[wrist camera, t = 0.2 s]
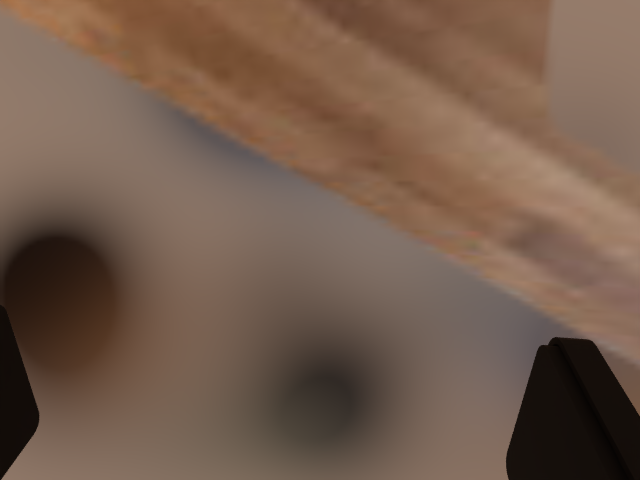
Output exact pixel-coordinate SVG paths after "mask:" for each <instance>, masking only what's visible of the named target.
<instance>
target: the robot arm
mask: <svg viewBox="0 0 640 480" xmlns="http://www.w3.org/2000/svg"><path fill="white" fill-rule="evenodd" d="M38 423H39V411H38V408H37V405H36V402H35V398H34V395H33V392H32V389H31V386H30V383H29V380H28V376H27V373H26V370H25V367H24V364H23V361H22V358H21V355H20V352H19V348H18V345H17V342H16V339H15V336H14V333H13V330H12V327H11V324H10V320H9V317H8V314H7V311H6V309H5V308H4V307H3V306H1V305H0V480H1V479H2V478H3V476H4V475H5V473H6V472H7V471H8V469H9V468H10V467H11V465H12V464H13V462H14V461H15V460H16V458H17V457H18V455H19V454H20V453H21V451H22V450H23V449H24V447H25V446H26V444H27V443H28V442H29V440H30V439H31V437H32V436H33V435H34V433H35V431H36V429H37V427H38ZM506 469H507V475H508V479H509V480H640V416H639V414H638V413H637V411H636V409H635V408H634V406H633V405H632V403H631V401H630V400H629V398H628V397H627V395H626V393H625V392H624V390H623V388H622V387H621V385H620V384H619V382H618V380H617V379H616V377H615V375H614V374H613V372H612V371H611V369H610V367H609V366H608V364H607V363H606V361H605V359H604V358H603V356H602V354H601V353H600V351H599V350H598V348H597V346H596V345H595V344H594V343H593V341H591V340H587V339H574V338H560V337H559V338H558V337H555V338H552V339H551V341H550V342H549V344H548V345H541V346H540V347H539V348H538V351H537V354H536V357H535V360H534V363H533V367H532V370H531V374H530V377H529V380H528V384H527V387H526V391H525V394H524V398H523V401H522V404H521V408H520V412H519V414H518V418H517V421H516V424H515V428H514V432H513V434H512V438H511V441H510V445H509V448H508V451H507V457H506Z"/></svg>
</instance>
